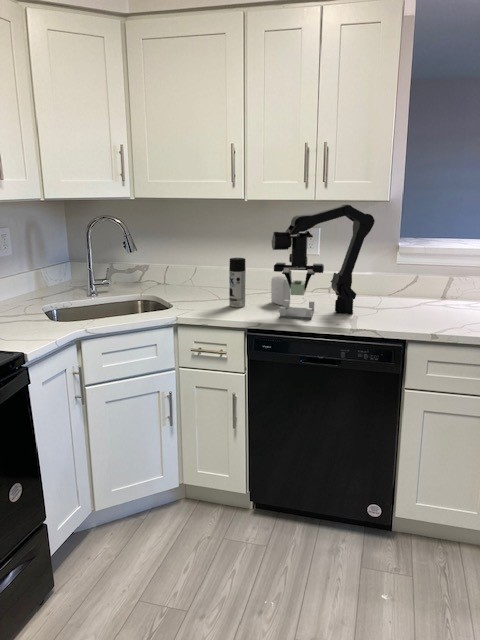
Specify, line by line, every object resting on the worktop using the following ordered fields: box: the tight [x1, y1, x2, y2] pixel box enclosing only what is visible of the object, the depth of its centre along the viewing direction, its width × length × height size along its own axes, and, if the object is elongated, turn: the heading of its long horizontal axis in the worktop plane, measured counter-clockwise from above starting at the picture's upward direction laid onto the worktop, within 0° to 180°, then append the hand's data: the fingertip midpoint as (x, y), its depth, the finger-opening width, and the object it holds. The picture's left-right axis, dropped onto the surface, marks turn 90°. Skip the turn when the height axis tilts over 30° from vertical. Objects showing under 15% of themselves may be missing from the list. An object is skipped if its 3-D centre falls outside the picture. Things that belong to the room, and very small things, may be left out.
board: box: [290, 279, 307, 296], centre depth 200 cm, size 5×9×5 cm, turn 168°
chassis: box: [278, 299, 315, 321], centre depth 202 cm, size 12×15×4 cm
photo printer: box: [270, 274, 291, 307], centre depth 219 cm, size 10×4×12 cm, turn 29°
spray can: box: [228, 257, 247, 309], centre depth 213 cm, size 7×7×20 cm
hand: (298, 289), depth 200 cm, fingers closed on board, 5 cm apart
